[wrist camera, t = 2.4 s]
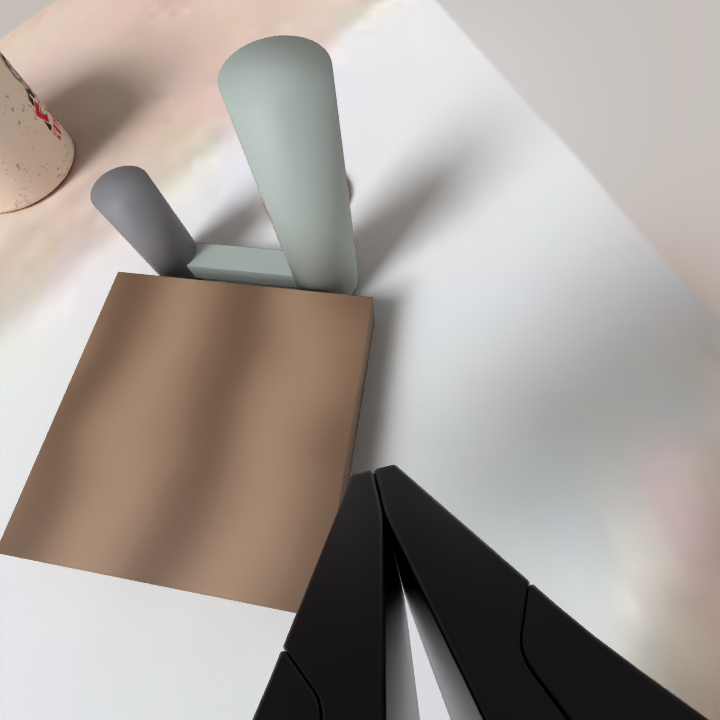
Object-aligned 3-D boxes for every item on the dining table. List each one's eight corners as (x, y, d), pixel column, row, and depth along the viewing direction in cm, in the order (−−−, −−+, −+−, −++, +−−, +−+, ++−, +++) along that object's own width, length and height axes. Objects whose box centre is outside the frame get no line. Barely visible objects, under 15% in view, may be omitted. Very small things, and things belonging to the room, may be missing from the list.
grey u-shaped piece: (150, 287, 24) (-45, 98, 13) (170, 238, 25) (7, 29, 14) (353, 309, 22) (319, 115, 12) (363, 255, 24) (341, 36, 13)
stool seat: (42, 548, 19) (-5, 552, 17) (199, 157, 28) (182, 124, 26) (328, 604, 17) (319, 617, 15) (398, 169, 26) (399, 135, 24)
